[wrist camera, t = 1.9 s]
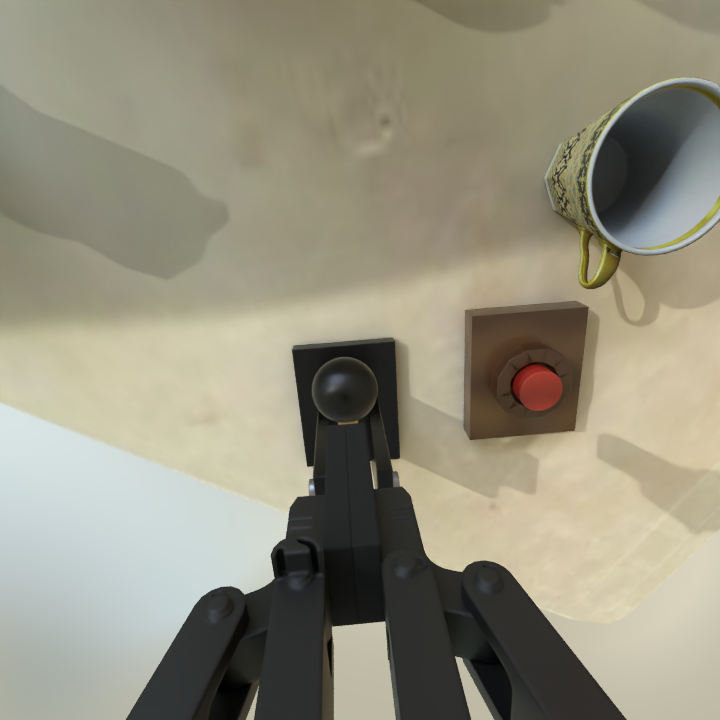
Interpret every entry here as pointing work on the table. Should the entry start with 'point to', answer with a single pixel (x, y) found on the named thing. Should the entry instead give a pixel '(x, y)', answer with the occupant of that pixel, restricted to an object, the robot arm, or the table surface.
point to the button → (537, 387)
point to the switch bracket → (377, 421)
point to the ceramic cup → (642, 174)
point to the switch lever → (344, 390)
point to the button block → (521, 366)
